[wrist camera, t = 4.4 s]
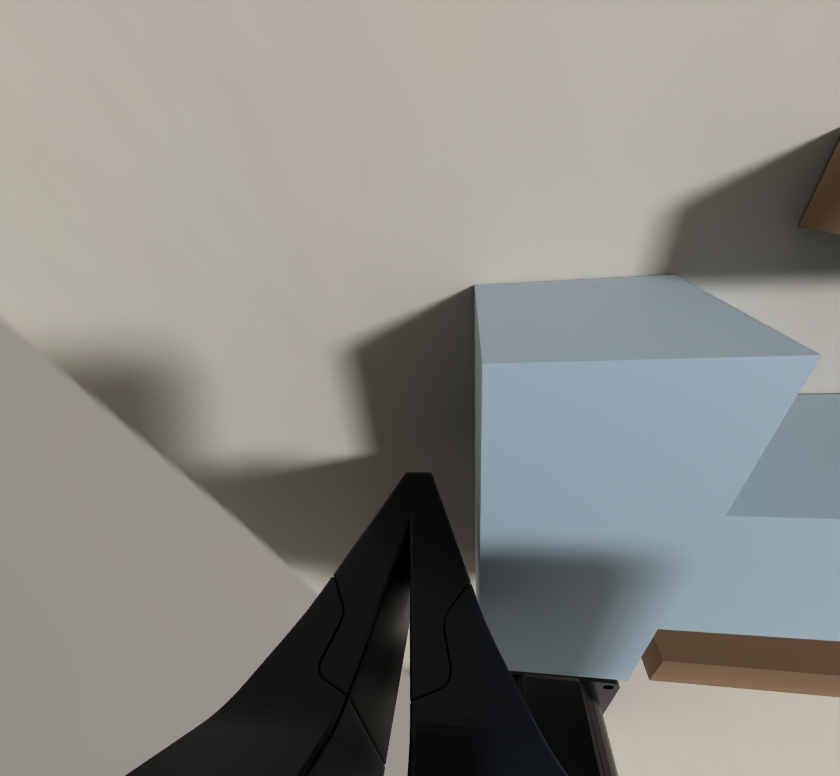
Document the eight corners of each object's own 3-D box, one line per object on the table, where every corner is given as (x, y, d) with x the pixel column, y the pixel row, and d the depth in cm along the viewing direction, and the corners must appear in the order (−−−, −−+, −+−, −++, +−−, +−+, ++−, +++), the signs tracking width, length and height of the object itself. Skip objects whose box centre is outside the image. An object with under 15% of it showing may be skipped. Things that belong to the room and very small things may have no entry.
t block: (812, 568, 12) (930, 706, 9) (475, 553, 13) (479, 667, 10) (1104, 250, 6) (1674, 332, 3) (474, 285, 8) (482, 363, 5)
